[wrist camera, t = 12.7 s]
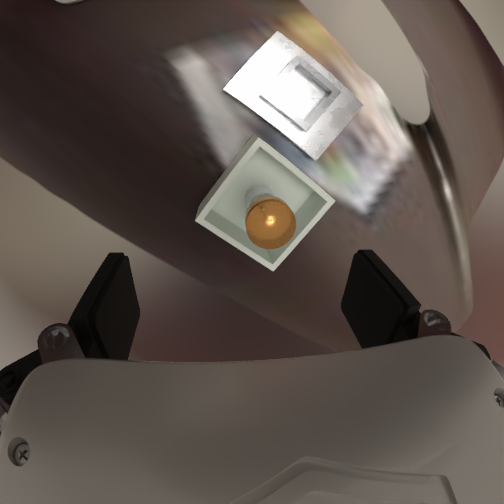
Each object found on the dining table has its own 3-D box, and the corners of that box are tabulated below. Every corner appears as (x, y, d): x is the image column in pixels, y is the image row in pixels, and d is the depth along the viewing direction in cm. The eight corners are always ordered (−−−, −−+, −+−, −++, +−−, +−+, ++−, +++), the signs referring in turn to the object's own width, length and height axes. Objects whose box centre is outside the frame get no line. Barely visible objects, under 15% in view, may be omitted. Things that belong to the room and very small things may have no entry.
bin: (199, 205, 35) (194, 220, 30) (253, 134, 31) (258, 137, 26) (266, 250, 39) (273, 271, 34) (319, 188, 35) (335, 200, 30)
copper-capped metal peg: (239, 179, 33) (245, 202, 24) (278, 178, 34) (297, 201, 25) (240, 215, 35) (246, 250, 27) (277, 214, 36) (294, 248, 27)
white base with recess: (223, 91, 29) (223, 86, 25) (274, 35, 25) (280, 26, 22) (311, 158, 33) (321, 163, 30) (356, 105, 30) (370, 104, 27)
